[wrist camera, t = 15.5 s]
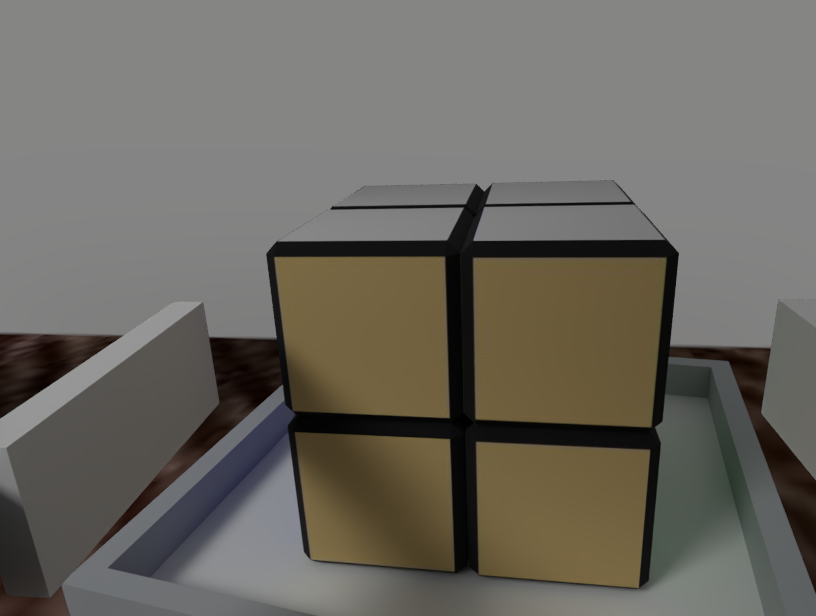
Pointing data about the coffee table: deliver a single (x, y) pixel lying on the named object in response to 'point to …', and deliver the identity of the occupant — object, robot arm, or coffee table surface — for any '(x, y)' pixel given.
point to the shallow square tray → (467, 591)
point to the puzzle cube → (478, 378)
